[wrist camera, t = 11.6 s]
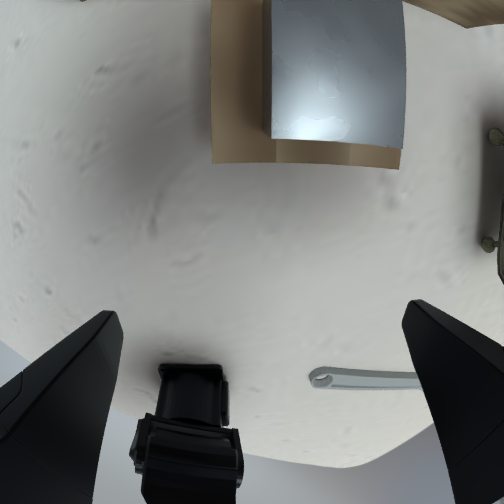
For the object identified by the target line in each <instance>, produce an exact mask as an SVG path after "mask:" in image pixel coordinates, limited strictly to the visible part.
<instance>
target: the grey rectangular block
mask: <svg viewBox="0 0 504 504" xmlns="http://www.w3.org/2000/svg"><path fill="white" fill-rule="evenodd" d="M405 103H406V46H405V28H404V16H403V5H402V0H263V3H262V131H263V132H264V133H265V134H266V135H268V136H269V137H270V138H271V139H301V140H320V141H335V142H347V143H358V144H367V145H376V146H384V147H392V148H399V149H402V148H403V137H404V123H405Z"/></svg>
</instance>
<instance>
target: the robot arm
mask: <svg viewBox="0 0 504 504" xmlns="http://www.w3.org/2000/svg"><path fill="white" fill-rule="evenodd" d="M402 329H403V332H404V335H405V338H406V342H407V345H408V348H409V352H410V355H411V359H412V362H413V365H414V368H415V371H416V373H417V376H418V379H419V381H420V384H421V387H422V389H423V392H424V395H425V398H426V400H427V403H428V406H429V409H430V412H431V415H432V418H433V421H434V424H435V427H436V430H437V433H438V437H439V440H440V443H441V447H442V450H443V454H444V457H445V461H446V465H447V468H448V473H449V477H450V481H451V486H452V490H453V494H454V499H455V504H492V503H494V502H496V501H498V500H500V503H501V504H504V346H501V345H500V344H499V343H497V342H495V341H493V340H492V339H490V338H488V337H487V336H485V335H483V334H482V333H480V332H478V331H476V330H475V329H473V328H471V327H470V326H468V325H466V324H464V323H463V322H461V321H459V320H457V319H456V318H454V317H452V316H450V315H448V314H447V313H445V312H443V311H441V310H440V309H438V308H436V307H434V306H432V305H431V304H429V303H427V302H425V301H423V300H421V299H418V300H411V301H410V302H409V303H408V305H407V308H406V311H405V314H404V316H403V319H402ZM122 344H123V330H122V327H121V324H120V321H119V318H118V315H117V313H116V312H115V311H108V310H103V311H101V312H100V313H98V314H97V315H96V316H94V317H93V318H92V319H90V320H89V321H87V322H86V323H85V324H83V325H82V326H81V327H79V328H78V329H76V330H75V331H74V332H72V333H71V334H70V335H68V336H67V337H66V338H64V339H63V340H62V341H60V342H59V343H58V344H56V345H55V346H54V347H52V348H51V349H50V350H48V351H47V352H46V353H44V354H43V355H42V356H41V357H39V358H38V359H37V360H35V361H34V362H33V363H31V364H30V365H29V366H28V367H26V368H25V369H24V370H23V372H22V371H21V372H20V373H19V374H17V375H16V376H15V377H14V378H12V379H11V380H10V381H8V382H7V383H6V384H5V385H3V386H2V387H0V504H92V501H93V499H92V497H93V492H94V485H95V478H96V473H97V467H98V461H99V455H100V450H101V445H102V440H103V436H104V431H105V426H106V422H107V417H108V413H109V409H110V405H111V401H112V397H113V393H114V389H115V385H116V380H117V374H118V368H119V361H120V355H121V349H122ZM158 370H159V373H160V376H161V379H162V381H161V386H160V391H159V396H158V401H157V406H156V412H155V415H152V414H150V413H146V414H145V418H144V419H139V420H138V424H137V430H136V433H135V437H134V439H133V442H132V445H131V448H130V452H129V456H130V457H131V458H132V460H133V461H134V466H135V473H137V474H141V475H143V476H142V485H141V493H142V495H143V497H144V499H145V501H146V503H147V504H236V488H239V487H240V485H241V483H242V479H243V473H244V460H243V454H242V448H241V443H240V437H239V432H238V429H235V428H232V429H228V428H223V426H228V425H229V387H228V382H227V381H224V378H223V369H222V367H221V366H218V365H171V364H160V365H159V368H158Z"/></svg>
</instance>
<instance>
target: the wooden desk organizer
mask: <svg viewBox="0 0 504 504" xmlns="http://www.w3.org/2000/svg"><path fill="white" fill-rule="evenodd" d="M80 1H82V2H83V1H85V0H80ZM402 1H404V2H407V3H410V4H413V5H415V6H418V7H421V8H423V9H426V10H428V11H430V12H433V13H435V14H437V15H440V16H442V17H444V18H446V19H449V20H451V21H453V22H455V23H457V24H459V25H461V26H463V27H465V28H472V27H479V26H486V25H494V24H504V0H402ZM262 3H263V0H212V5H211V132H212V163H248V162H276V163H315V164H336V165H352V166H365V167H377V168H388V169H397V170H399V165H400V156H401V149H399V148H392V147H384V146H376V145H367V144H358V143H347V142H335V141H320V140H301V139H271V138H270V137H269V136H268V135H266V134H265V133H264V132H263V131H262Z"/></svg>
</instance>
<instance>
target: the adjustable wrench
mask: <svg viewBox="0 0 504 504" xmlns="http://www.w3.org/2000/svg"><path fill="white" fill-rule="evenodd" d="M322 375H328V376H327V377H326V378H324V379H321V380H316V378H317V377H319V376H322ZM310 382H311V385H312V387H314V388H320V389H340V390H404V389H419V390H422V391H423V389H422V387H421V384H420V381H419V379H418V376H417V373H413V372H385V371H368V370H354V369H342V368H332V367H321V368H318V369H315V370H314V371H312V373H311V374H310Z"/></svg>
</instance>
